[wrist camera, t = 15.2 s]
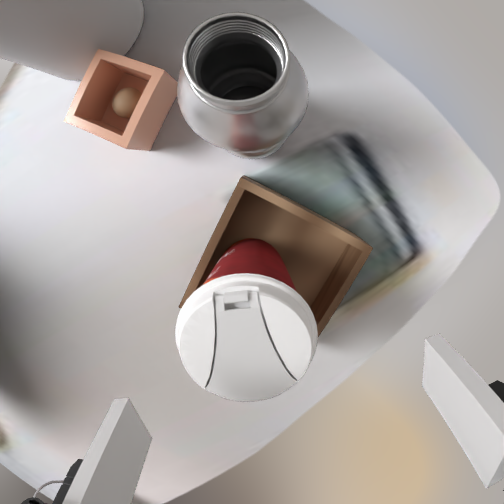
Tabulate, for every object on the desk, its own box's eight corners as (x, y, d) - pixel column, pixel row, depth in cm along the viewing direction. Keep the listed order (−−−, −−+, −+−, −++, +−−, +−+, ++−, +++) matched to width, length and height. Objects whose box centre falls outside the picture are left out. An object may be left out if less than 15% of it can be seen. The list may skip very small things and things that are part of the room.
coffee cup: (202, 231, 31) (153, 291, 16) (290, 220, 30) (317, 273, 16) (216, 312, 33) (188, 413, 18) (298, 303, 32) (322, 403, 18)
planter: (94, 126, 29) (63, 121, 23) (124, 65, 27) (98, 48, 21) (149, 150, 29) (126, 148, 24) (181, 86, 28) (164, 70, 22)
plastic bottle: (260, 173, 30) (262, 189, 10) (201, 132, 29) (106, 85, 10) (301, 119, 28) (370, 48, 9) (242, 79, 27) (214, -42, 8)
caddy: (189, 286, 33) (178, 307, 28) (243, 175, 30) (240, 177, 25) (296, 336, 34) (301, 362, 29) (356, 235, 31) (373, 247, 26)
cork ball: (115, 114, 28) (101, 110, 25) (128, 86, 27) (116, 80, 24) (139, 124, 28) (127, 120, 25) (153, 96, 27) (142, 90, 24)
